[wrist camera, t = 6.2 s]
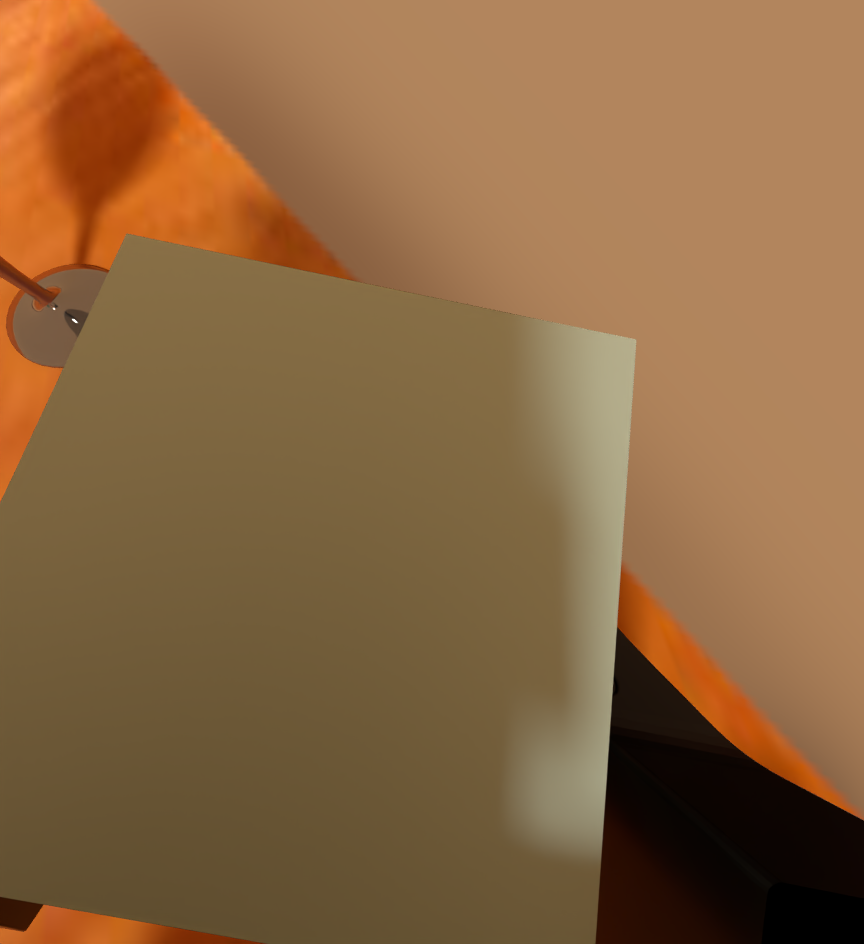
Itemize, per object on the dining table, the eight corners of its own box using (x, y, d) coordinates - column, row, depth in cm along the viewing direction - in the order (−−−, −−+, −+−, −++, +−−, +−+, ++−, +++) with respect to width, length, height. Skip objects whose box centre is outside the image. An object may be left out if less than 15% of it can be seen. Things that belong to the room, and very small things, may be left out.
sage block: (440, 617, 14) (590, 1000, 2) (322, 594, 14) (-170, 866, 2) (460, 501, 16) (635, 339, 3) (351, 479, 15) (126, 233, 3)
